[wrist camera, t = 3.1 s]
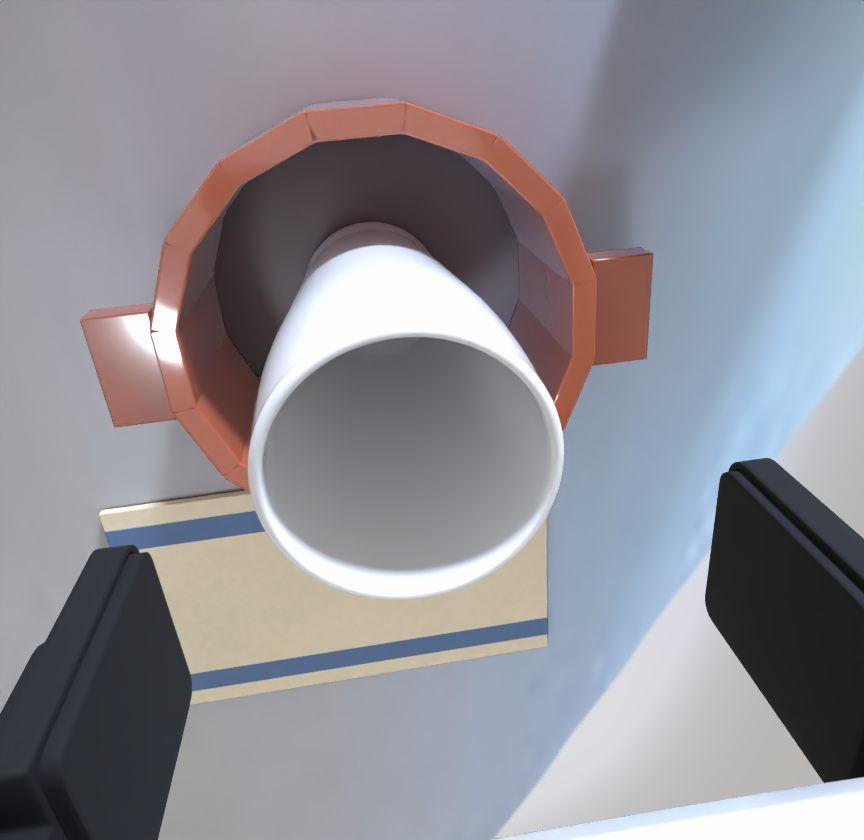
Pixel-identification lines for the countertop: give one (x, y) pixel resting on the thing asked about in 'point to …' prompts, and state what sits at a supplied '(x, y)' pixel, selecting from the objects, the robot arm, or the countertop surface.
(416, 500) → the drinking glass
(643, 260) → the cooking pot
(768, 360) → the countertop surface
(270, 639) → the tea towel
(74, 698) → the robot arm
